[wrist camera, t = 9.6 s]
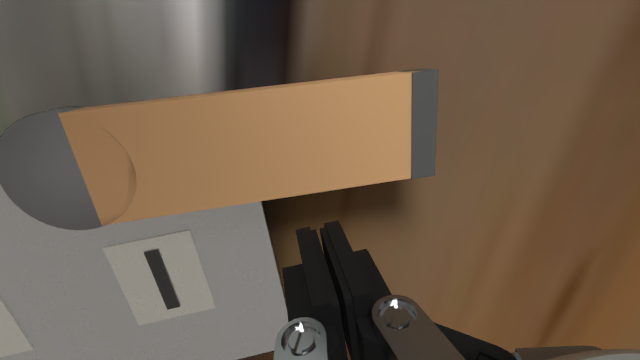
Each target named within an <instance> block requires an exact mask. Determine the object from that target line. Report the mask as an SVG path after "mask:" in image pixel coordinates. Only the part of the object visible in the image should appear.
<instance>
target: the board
mask: <svg viewBox="0 0 640 360" xmlns="http://www.w3.org/2000/svg"><path fill="white" fill-rule="evenodd" d="M287 323H288V314H287V306H286V299H285V294H284V290H283V286H282V282H281V278H280V274H279V269H278V265H277V261H276V257H275V253H274V248H273V244H272V240H271V236H270V232H269V227H268V223H267V219H266V215H265V211H264V206H263V202H262V201H259V202H253V203H246V204H240V205H233V206H227V207H220V208H214V209H207V210H201V211H194V212H188V213H181V214H174V215H168V216H161V217H155V218H148V219H142V220H135V221H129V222H122V223H116V224H109V225H105V226H102V227H99V228H95V229H90V230H68V229H62V228H57V227H54V226H50V225H47V224H45V223H43V222H40V221H38V220H36V219H35V218H33V217H31V216H29V215H28V214H26V213H25V212H24V211H22V210H21V209H20V208H19V207H18V206H16V205H15V204H14V202H13V201H12V200H11V199H10V198H9V197H8V196H7V194H6V193H5V192H4V190H3V188H2V186H1V185H0V360H237V359H241V358H245V357H249V356H253V355H257V354H261V353H265V352H270V351H274V350H275V341H276V338H277V334H278V333H279V331H280V330H281V328H282V327H283V326H284V325H285V324H287Z"/></svg>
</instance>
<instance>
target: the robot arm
mask: <svg viewBox="0 0 640 360" xmlns="http://www.w3.org/2000/svg"><path fill="white" fill-rule="evenodd" d="M324 226H325V227H324V228H320V234H321V240H322V246H323V251H324V254H323V251H322V247H321V244H320V241H319V238H318V235H317V232H316V229H315V230H310V227H307V228H302V229H297V230H296V234H297V239H298V244H299V249H300V254H301V259H302V264H299V265H295V266H290V267H286V268H283V269H282V270H283V279H284V288H285V297H286V306H287V314H288V323H287V324H285V325H284V326H283V327H282V328H281V330H280V331H279V333H278V334H277V338H276V341H275V350H274V358H273V360H348V358H347V351H346V345H345V341H346V344H347V347H348V351H349V354H350V357H351V360H640V350H637V349H600V348H597V347H593V346H560V347H536V348H515V353H509V352H508V351H506V350H504V349H502V348H500V347H498V346H496V345H493V344H490V343H488V342H485V341H482V340H480V339H477V338H474V337H472V336H469V335H466V334H463V333H461V332H458V331H455V330H453V329H450V328H447V327H445V326H442V325H439V324H436V323H434V322H433V321H432V320H431V319H430V318H429V317H428V316H427V314H426V313H425V312H424V311H423V310H422V309H421V307H420V306H419V305H418V304H417V303H416V302H415V301H413V300H412V299H410V298H408V297H406V296H401V295H392V294H391V293H390V291H389V289H388V287H387V285H386V283H385V282H384V280H383V278H382V276H381V274H380V272H379V270H378V269H377V267H376V265H375V263H374V261H373V259H372V258H371V256H370V254H369V252H368V251H367V249H363V250H359V251H355V252H353V251H352V248H351V246H350V244H349V242H348V240H347V238H346V236H345V234H344V231H343V229H342V227H341V225H340V223H339V221H334V222H329V223H325V224H324ZM344 337H345V339H344Z"/></svg>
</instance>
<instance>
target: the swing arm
mask: <svg viewBox="0 0 640 360" xmlns="http://www.w3.org/2000/svg"><path fill="white" fill-rule="evenodd" d="M437 100H438V70H435V69H414V70H405V71H397V72H389V73H380V74H371V75H363V76H354V77H345V78H336V79H327V80H319V81H310V82H301V83H292V84H284V85H275V86H266V87H257V88H248V89H240V90H231V91H222V92H213V93H205V94H196V95H187V96H178V97H169V98H161V99H152V100H143V101H134V102H126V103H117V104H108V105H99V106H90V107H77V106H72V107H63V108H57V109H53V110H49V111H44V112H40V113H36V114H32V115H29V116H26V117H24V118H22V119H20V120H18V121H16V122H15V123H13V124H12V125H10V126H9V127H8V128H7V129H6V130H5V131H4V133H3V134H2V136H1V137H0V185H1V186H2V188H3V190H4V192H5V193H6V194H7V196H8V197H9V198H10V199H11V200H12V201H13V202H14V204H15V205H16V206H18V207H19V208H20V209H21V210H22V211H24V212H25V213H26V214H28V215H29V216H31V217H33V218H35V219H36V220H38V221H40V222H43V223H45V224H47V225H50V226H54V227H57V228H62V229H68V230H90V229H95V228H99V227H102V226H105V225H109V224H116V223H122V222H129V221H135V220H142V219H148V218H155V217H161V216H168V215H174V214H181V213H188V212H194V211H201V210H207V209H214V208H220V207H227V206H233V205H240V204H246V203H253V202H259V201H266V200H272V199H279V198H285V197H292V196H298V195H305V194H312V193H318V192H325V191H331V190H338V189H344V188H351V187H357V186H364V185H370V184H377V183H383V182H390V181H396V180H403V179H409V178H411V179H415V178H421V177H428V176H434V175H435V159H436V129H437Z"/></svg>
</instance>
